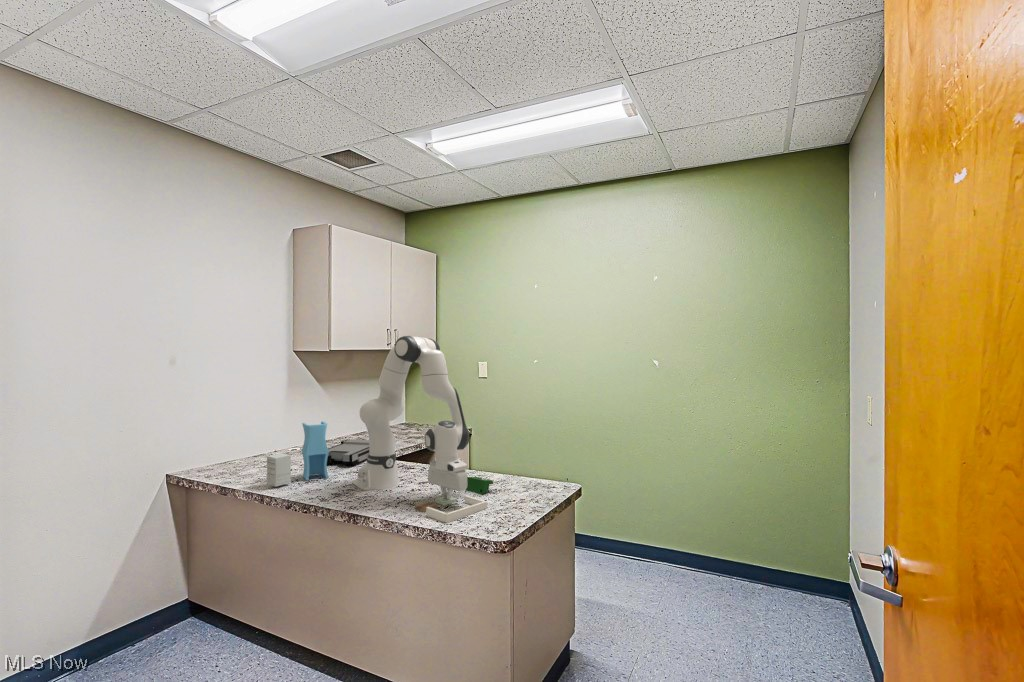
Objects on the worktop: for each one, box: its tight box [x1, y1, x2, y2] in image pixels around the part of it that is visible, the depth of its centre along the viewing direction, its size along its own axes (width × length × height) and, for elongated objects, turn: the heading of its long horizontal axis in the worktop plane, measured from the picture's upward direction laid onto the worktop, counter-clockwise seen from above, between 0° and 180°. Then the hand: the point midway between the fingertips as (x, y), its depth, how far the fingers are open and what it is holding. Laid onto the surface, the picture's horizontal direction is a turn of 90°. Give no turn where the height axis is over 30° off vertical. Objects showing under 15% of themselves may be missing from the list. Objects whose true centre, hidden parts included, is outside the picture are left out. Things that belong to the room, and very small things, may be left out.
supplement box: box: [266, 452, 292, 487], centre depth 228 cm, size 7×7×13 cm
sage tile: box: [435, 496, 458, 506], centre depth 201 cm, size 6×6×2 cm
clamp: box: [465, 476, 494, 495], centre depth 216 cm, size 12×6×9 cm, turn 44°
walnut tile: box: [414, 500, 438, 513], centre depth 194 cm, size 6×6×2 cm
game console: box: [327, 439, 369, 467], centre depth 274 cm, size 21×32×8 cm, turn 169°
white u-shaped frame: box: [425, 495, 488, 524], centre depth 189 cm, size 12×20×3 cm, turn 138°
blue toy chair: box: [301, 421, 329, 481], centre depth 241 cm, size 10×10×25 cm
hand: (446, 498), depth 201 cm, fingers closed
